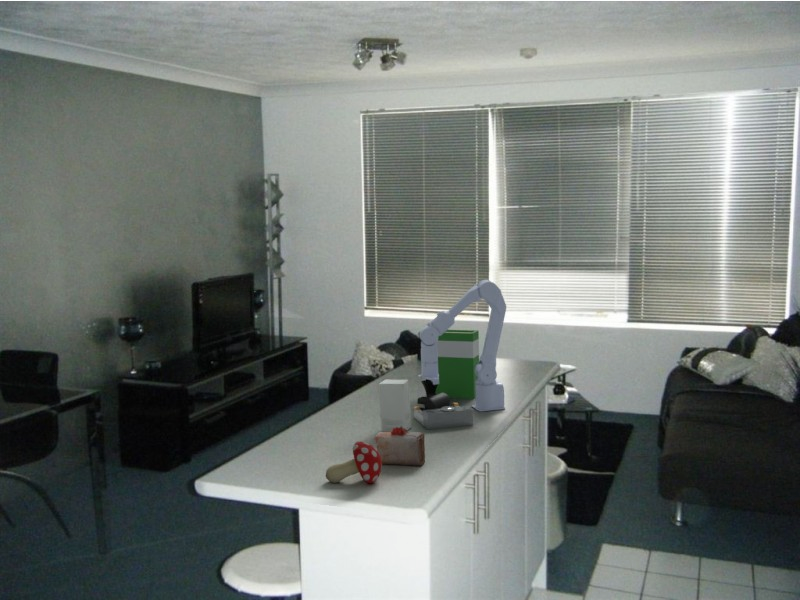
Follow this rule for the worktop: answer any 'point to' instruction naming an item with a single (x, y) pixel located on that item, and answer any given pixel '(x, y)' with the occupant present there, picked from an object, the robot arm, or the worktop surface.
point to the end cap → (434, 401)
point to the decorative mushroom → (358, 464)
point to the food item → (401, 447)
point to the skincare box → (394, 404)
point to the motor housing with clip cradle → (445, 416)
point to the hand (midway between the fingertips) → (431, 400)
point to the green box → (458, 363)
